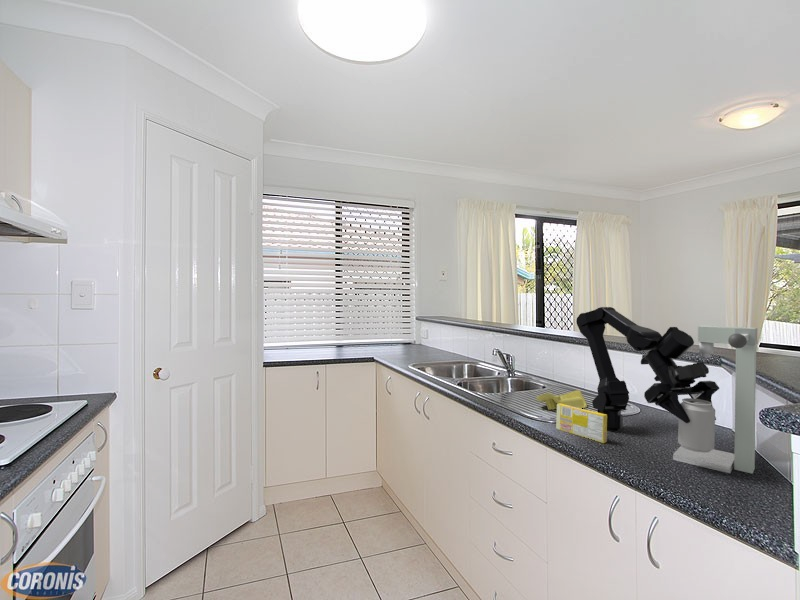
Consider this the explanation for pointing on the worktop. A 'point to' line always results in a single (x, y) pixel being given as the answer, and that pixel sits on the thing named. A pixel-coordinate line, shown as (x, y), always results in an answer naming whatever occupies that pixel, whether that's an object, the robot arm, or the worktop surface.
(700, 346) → the press frame
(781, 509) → the worktop surface
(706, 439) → the can
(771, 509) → the worktop surface
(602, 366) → the robot arm
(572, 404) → the plastic component
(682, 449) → the plate
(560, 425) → the candy box
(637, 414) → the worktop surface
